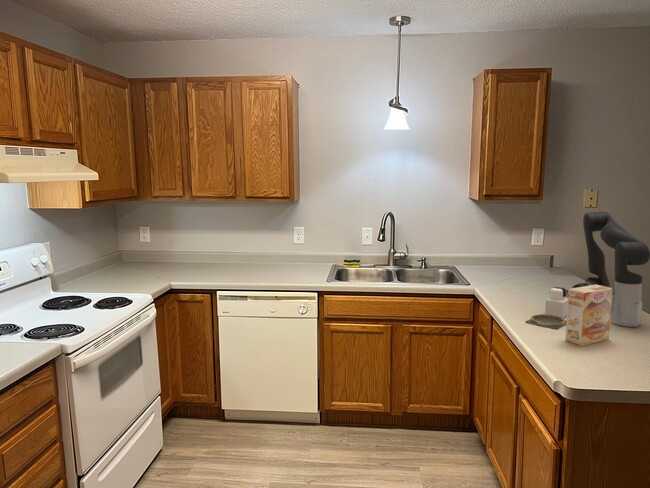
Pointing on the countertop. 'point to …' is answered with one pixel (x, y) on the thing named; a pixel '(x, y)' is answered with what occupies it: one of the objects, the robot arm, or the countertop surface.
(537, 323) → the ring seat
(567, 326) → the coffeecake box
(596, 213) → the robot arm
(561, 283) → the countertop surface
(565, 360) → the countertop surface
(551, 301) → the medicine bottle
